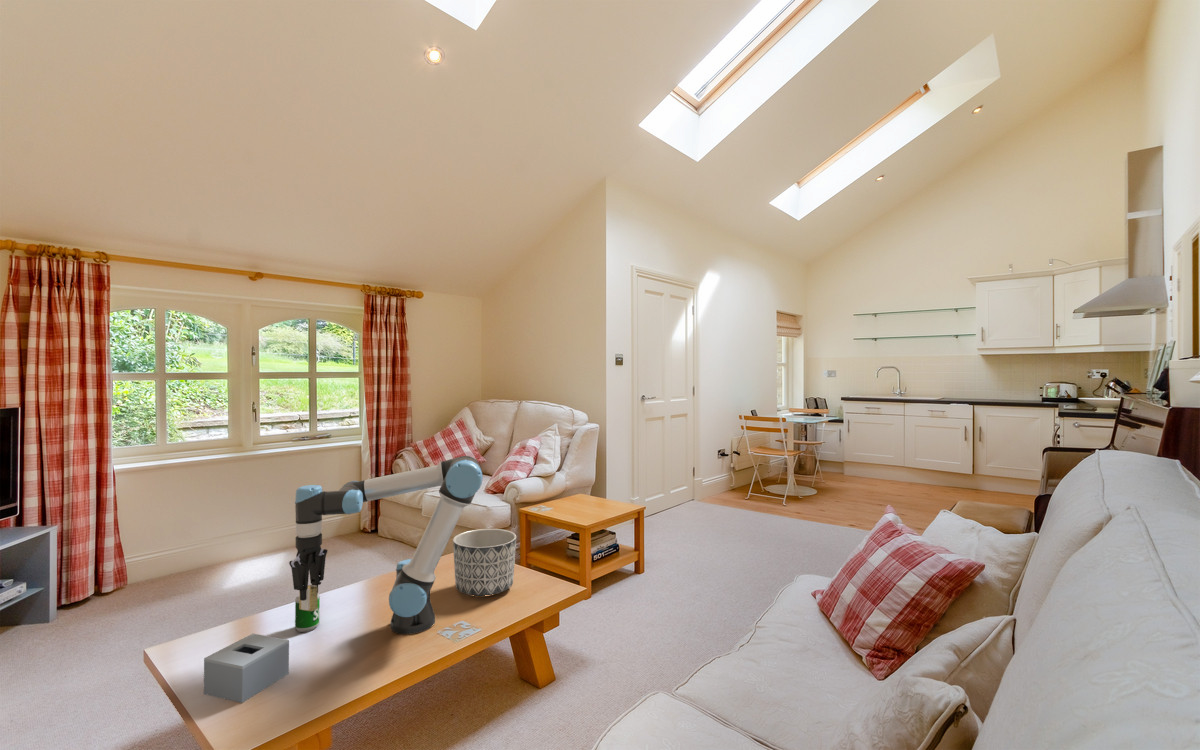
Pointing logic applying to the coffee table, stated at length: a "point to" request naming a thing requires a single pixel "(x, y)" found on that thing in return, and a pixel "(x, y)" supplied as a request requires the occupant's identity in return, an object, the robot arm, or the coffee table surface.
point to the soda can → (306, 617)
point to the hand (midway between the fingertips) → (309, 607)
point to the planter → (484, 561)
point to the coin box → (246, 667)
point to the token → (311, 598)
